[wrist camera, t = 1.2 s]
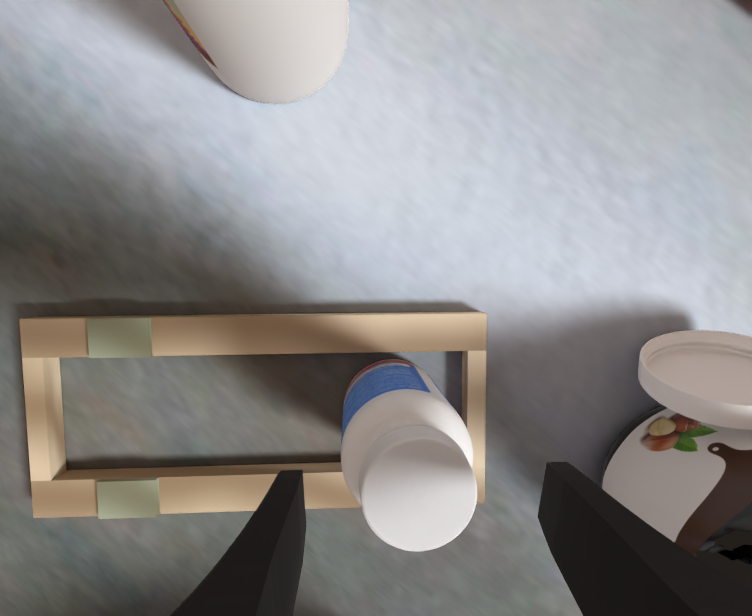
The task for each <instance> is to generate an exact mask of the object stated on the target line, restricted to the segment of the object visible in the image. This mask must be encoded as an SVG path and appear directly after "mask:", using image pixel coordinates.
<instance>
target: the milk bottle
mask: <svg viewBox="0 0 752 616" xmlns="http://www.w3.org/2000/svg"><path fill="white" fill-rule="evenodd" d="M163 1H164V3H165V4H166V5H167V7H168V8H169V10H170V11H171V13H172V14H173V15H174V17H175V18H176V20H177V21H178V23H179V24H180V26H181V27H182V28H183V30H184V31H185V33H186V34H187V36H188V37H189V38H190V40H191V41H192V43H193V44H194V46H195V47H196V48H197V50H198V51H199V53H200V54H201V56H202V57H203V58H204V60H205V61H206V62H207V64H208V65H209V66H210V68H211V69H212V70H213V71H214V73H215V74H216V75H217V76H218V78H219V79H220V80H221V81H222V82H223V83H224V84H226V85H227V86H228V87H229V88H230V89H232V90H233V91H235V92H236V93H238V94H240V95H242V96H244V97H246V98H248V99H251V100H253V101H257V102H261V103H267V104H286V103H292V102H296V101H299V100H302V99H304V98H307V97H309V96H311V95H312V94H314V93H315V92H317V91H318V90H320V89H321V88H322V87H323V86H324V85H325V84H327V83H328V82H329V80H330V79H331V78H332V77H333V76H334V74H335V73H336V71H337V70H338V68H339V66H340V64H341V62H342V60H343V57H344V54H345V51H346V48H347V43H348V35H349V0H163Z"/></svg>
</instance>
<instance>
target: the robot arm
mask: <svg viewBox="0 0 752 616" xmlns="http://www.w3.org/2000/svg"><path fill="white" fill-rule="evenodd" d="M538 519H539V522H540V524H541V527H542V530H543V533H544V535H545V538H546V541H547V543H548V546H549V548H550V551H551V553H552V555H553V557H554V559H555V561H556V563H557V565H558V567H559V569H560V571H561V573H562V575H563V577H564V579H565V581H566V583H567V585H568V587H569V589H570V591H571V593H572V595H573V596H574V598H575V600H576V602H577V604H578V606H579V608H580V610H581V612H582V614H583V616H752V590H751V589H749V588H748V587H746V586H744V585H742V584H740V583H739V582H737V581H735V580H733V579H732V578H730V577H728V576H727V575H725V574H723V573H722V572H720V571H718V570H717V569H715V568H713V567H712V566H710V565H709V564H707V563H705V562H704V561H702V560H701V559H699V558H697V557H696V556H694V555H693V554H691V553H689V552H688V551H686V550H685V549H683V548H682V547H680V546H679V545H677V544H676V543H674V542H673V541H672V540H670V539H669V538H667V537H666V536H664V535H663V534H662V533H660V532H659V531H657V530H656V529H654V528H653V527H652V526H650V525H649V524H647V523H646V522H645V521H643V520H642V519H641V518H639V517H638V516H637V515H635V514H634V513H633V512H631V511H630V510H629V509H627V508H626V507H625V506H623V505H622V504H621V503H619V502H618V501H617V500H616V499H614V498H613V497H612V496H610V495H609V494H608V493H607V492H605V491H604V490H603V489H602V488H600V487H599V486H598V485H596V484H595V483H594V482H593V481H591V480H590V479H589V478H588V477H586V476H585V475H584V474H582V473H581V472H580V471H579V470H577V469H576V468H575V467H573V466H572V465H571V464H569V463H568V462H549V463H547V465H546V471H545V477H544V483H543V489H542V494H541V500H540V506H539V512H538ZM305 532H306V514H305V499H304V483H303V470H281V471H280V472H279V473H278V474H277V476H276V478H275V480H274V482H273V483H272V485H271V487H270V489H269V490H268V492H267V494H266V495H265V497H264V498H263V500H262V502H261V503H260V505H259V506H258V508H257V509H256V511H255V512H254V514H253V515H252V517H251V518H250V520H249V521H248V523H247V524H246V526H245V527H244V529H243V530H242V531H241V533H240V534H239V536H238V537H237V538H236V540H235V541H234V542H233V544H232V545H231V546H230V547H229V549H228V550H227V551H226V553H225V554H224V555H223V557H222V558H221V559H220V561H219V562H218V563H217V564H216V565H215V567H214V568H213V569H212V570H211V572H210V573H209V574H208V575H207V576H206V577H205V579H204V580H203V581H202V582H201V583H200V584H199V585H198V587H197V588H196V589H195V590H194V591H193V592H192V593H191V594H190V595H189V596H188V598H187V599H186V600H185V601H184V602H183V603H182V604H181V605H180V606H179V607H178V608H177V609H176V610H175V611H174V612H173V613H172V614H171V615H170V616H292V615H293V610H294V604H295V599H296V594H297V589H298V584H299V579H300V574H301V568H302V563H303V554H304V544H305Z"/></svg>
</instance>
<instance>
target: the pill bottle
mask: <svg viewBox="0 0 752 616" xmlns="http://www.w3.org/2000/svg"><path fill="white" fill-rule="evenodd" d="M472 466H473V447H472V442H471V438H470V435H469V432H468V430H467V428H466V426H465V424H464V422H463V420H462V419H461V417H460V416H459V415H458V413H457V412H456V410H455V409H454V408H453V407H452V405H451V404H450V403H449V401H448V400H447V399H446V397H445V396H444V395H443V394H442V392H441V391H440V390H439V388H438V387H437V386H436V384H435V383H434V382H433V380H432V379H431V378H430V376H429V375H428V374H427V373H425V372H424V371H423V370H422V369H421V368H419V367H418V366H416V365H414V364H412V363H410V362H407V361H404V360H398V359H387V360H381V361H378V362H375V363H373V364H370V365H369V366H367V367H365V368H364V369H363V370H361V371H360V372H359V373H358V374H357V375H356V376H355V377H354V378H353V380H352V381H351V383H350V385H349V387H348V389H347V391H346V394H345V398H344V405H343V423H342V440H341V467H342V472H343V476H344V479H345V482H346V484H347V486H348V488H349V490H350V492H351V493H352V495H353V496H354V498H355V499H356V500H357V502H358V503H359V504H360V505H361V507H362V511H363V514H364V516H365V519H366V521H367V523H368V525H369V526H370V528H371V529H372V530H373V531H374V533H375V534H376V535H377V536H378V537H379V538H381V539H382V540H383V541H385V542H386V543H388V544H389V545H392V546H394V547H396V548H399V549H403V550H407V551H426V550H431V549H435V548H438V547H440V546H443V545H445V544H446V543H448V542H450V541H451V540H453V539H454V538H455V537H457V536H458V535H459V534H460V533H461V532H462V531H463V529H464V528H465V527H466V526H467V524H468V523H469V521H470V519H471V517H472V515H473V513H474V510H475V506H476V502H477V483H476V479H475V475H474V472H473V470H472Z"/></svg>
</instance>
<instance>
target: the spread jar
mask: <svg viewBox="0 0 752 616" xmlns="http://www.w3.org/2000/svg"><path fill="white" fill-rule="evenodd" d="M638 379H639V382H640V384H641V386H642V387H643V389H644V390H645V391H646V392H647V393H648V394H649V395H650V396H651V397H652V398H653V399H655V400H656V401H657V402H658V403H660V404H662V405H663V406H660V407H658V408H655V409H653V410H651V411H649V412H647V413H645V414H644V415H642V416H640V417H639V418H637V419H636V420H634V421H633V422H632V423H631V424H630V425H629V426H628V427H627V428H626V429H625V430H624V431H623V432H622V433H621V434H620V436H619V437H618V438H617V440H616V441H615V443H614V444H613V446H612V448H611V450H610V452H609V454H608V456H607V458H606V461H605V464H604V468H603V472H602V489H603V490H604V491H605V492H607V493H608V494H609V495H610V496H612V497H613V498H614V499H616V500H617V501H618V502H619V503H621V504H622V505H623V506H625V507H626V508H627V509H629V510H630V511H631V512H633V513H634V514H635V515H637V516H638V517H639V518H641V519H642V520H643V521H645V522H646V523H647V524H649V525H650V526H652V527H653V528H654V529H656V530H657V531H659V532H660V533H662V534H663V535H664V536H666V537H667V538H669V539H670V540H672V541H673V542H674V543H676V544H677V545H679V546H680V547H682V548H683V549H685V550H686V551H688V552H689V553H691V554H693V555H694V556H696V557H697V558H699V559H701V560H702V561H704V562H705V563H707V564H709V565H710V566H712V567H713V568H715V569H717V570H718V571H720V572H722V573H723V574H725V575H727V576H728V577H730V578H732V579H733V580H735V581H737V582H739V583H740V584H742V585H744V586H746V587H748V588H749V589H751V590H752V337H750V336H745V335H740V334H735V333H729V332H721V331H708V330H687V331H678V332H672V333H667V334H663V335H660V336H657V337H655V338H653V339H651V340H650V341H648V342H647V343H646V344H645V345H644V346H643V347H642V349H641V351H640V357H639V368H638Z"/></svg>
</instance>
